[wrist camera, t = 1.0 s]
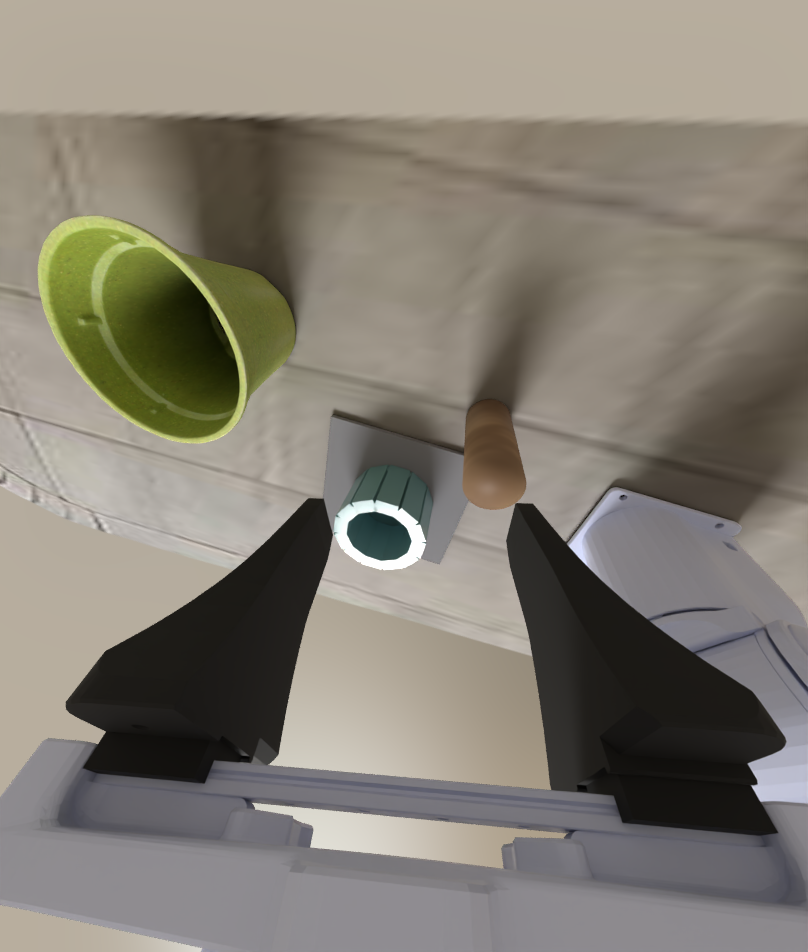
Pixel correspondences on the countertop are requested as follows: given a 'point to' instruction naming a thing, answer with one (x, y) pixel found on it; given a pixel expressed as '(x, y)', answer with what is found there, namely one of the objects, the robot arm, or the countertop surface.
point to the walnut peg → (491, 457)
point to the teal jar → (385, 518)
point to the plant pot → (161, 326)
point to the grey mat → (373, 447)
